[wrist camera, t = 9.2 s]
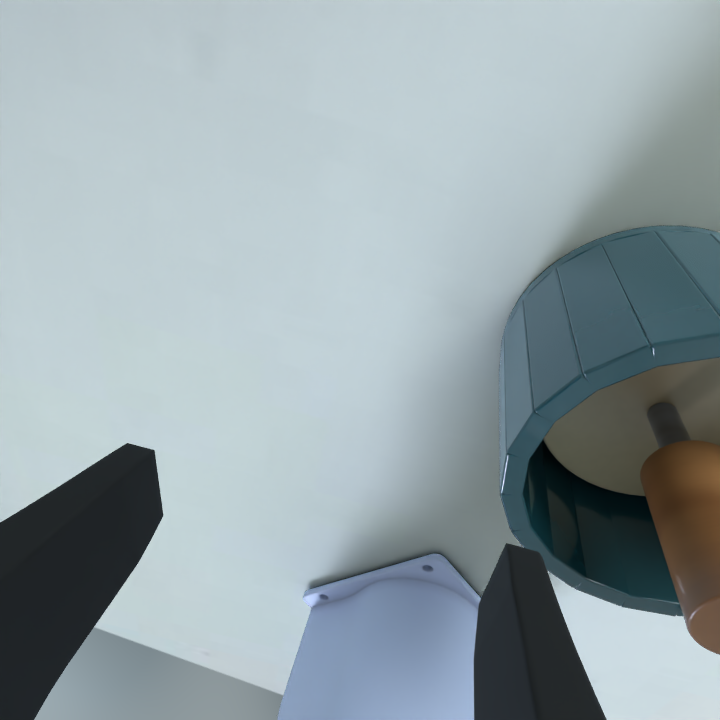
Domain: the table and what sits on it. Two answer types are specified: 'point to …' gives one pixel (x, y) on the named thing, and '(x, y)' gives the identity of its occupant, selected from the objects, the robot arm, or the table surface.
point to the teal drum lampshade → (582, 379)
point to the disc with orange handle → (661, 470)
